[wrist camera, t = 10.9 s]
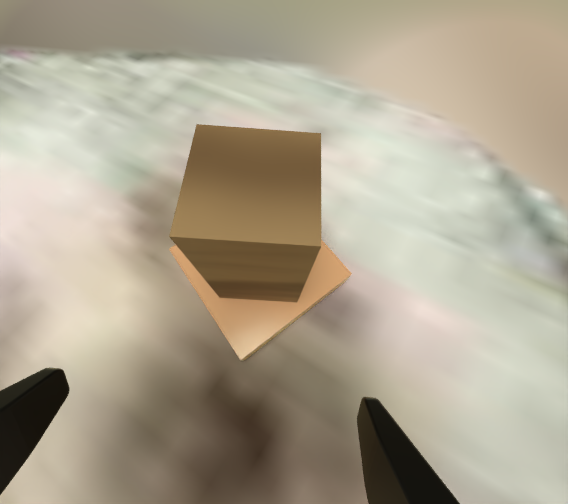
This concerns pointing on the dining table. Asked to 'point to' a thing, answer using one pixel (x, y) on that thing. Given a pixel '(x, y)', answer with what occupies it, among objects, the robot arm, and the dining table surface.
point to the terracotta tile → (264, 303)
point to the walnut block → (251, 210)
